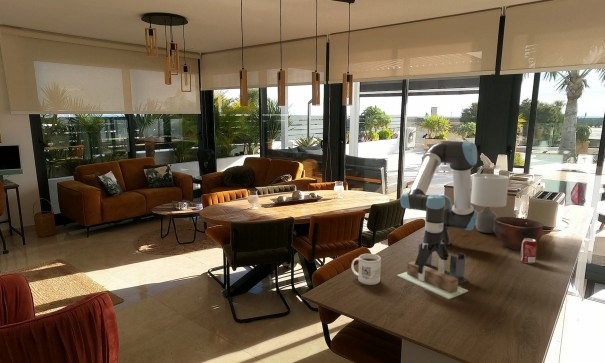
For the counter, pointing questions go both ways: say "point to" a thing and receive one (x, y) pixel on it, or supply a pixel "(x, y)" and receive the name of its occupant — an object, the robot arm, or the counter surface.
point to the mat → (431, 287)
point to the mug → (368, 268)
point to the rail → (435, 278)
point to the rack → (451, 266)
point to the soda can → (528, 251)
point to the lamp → (488, 198)
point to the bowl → (516, 230)
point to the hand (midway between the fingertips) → (431, 276)
